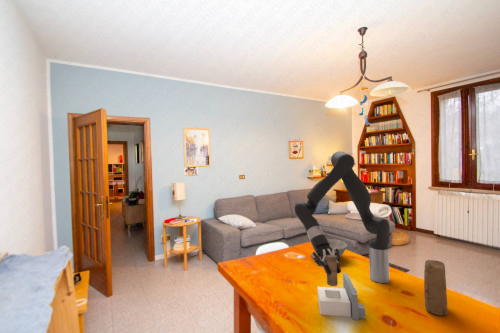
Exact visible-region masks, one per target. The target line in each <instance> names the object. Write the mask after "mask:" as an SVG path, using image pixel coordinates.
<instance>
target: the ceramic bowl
mask: <svg viewBox="0 0 500 333" xmlns="http://www.w3.org/2000/svg"><path fill="white" fill-rule="evenodd" d="M327 240H328V242H329V245H330V247H331V248H332V249H338V251H339V255H340V258H341V257H342V255H344V253H345V251H346V249H347V248H348V244H347V242H345V241H343V240H339V239H334V238H333V239H332V238H327ZM332 253H333V252H332ZM333 255H334V254H333Z"/></svg>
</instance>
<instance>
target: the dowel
mask: <svg viewBox="0 0 500 333" xmlns="http://www.w3.org/2000/svg"><path fill="white" fill-rule="evenodd" d="M326 261H327V265H328V266H329V268H330V271H331V273H332V274H331V275H328V274H326V285H328V286H329V287H337V286H338V273H337V256H335V255H326Z"/></svg>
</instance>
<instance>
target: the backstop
mask: <svg viewBox="0 0 500 333" xmlns="http://www.w3.org/2000/svg"><path fill="white" fill-rule="evenodd" d="M342 280H343V284H342V285H343V286H342V288H345V290H346V293H347V295H348V298H349V300H350V303H351V319H352V320H353V321H359V319H366V307H365V306H364V304H362V303H361V304H360V303H358V302H359V300H358V299H359V298H358V292H357V289H356V287H355V286H354V284H353V283H352V280H351V278H350V277H349V274H348V272H347V273H346V272H342Z"/></svg>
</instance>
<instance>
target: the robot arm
mask: <svg viewBox="0 0 500 333" xmlns="http://www.w3.org/2000/svg"><path fill="white" fill-rule="evenodd" d="M330 163H331V165H332V169H331V170H330V172H329V173H328V174H327V175H325V177H323V178H321V179H320V180H319V181H318V182H317V183H315V185H313V187H312V188H311V190H309V192H308V193H307V195H306V199H307V202H303V201H298V202H297V203H295V205H294V212H295V215H296V216H297V218H298V220H299V221H300V222H301V224H302V225H303V227H304V229H305V232H306V234H307V237H308V239H309V241H310V243H311V245H312V248H313V250H314V251H313V252H312V253H311V255H310V256H311V258H312V259H313V260H314V262H315V264H316V265H317V266H318V267H323V269H324V272H325V274H326V275H327V274H328V275H331V274H332V273H331V271H330V268H329V266H328V265H327V261H326V255H333V254H334V255H335V256H337V274H341V273H342V268H341V266H340V264H339V263H340V262H341V257H340V255H339V251H338V249H332V248H331V247H330V245H329V242H328V240H327V239H328V238H327V236H326V234H325V233H324V230H323V229H322V228H321V226H320V224H319V222H318V220H317V219H316V218H315V217H314V213H315V212H316V210H317V208H318V206H319V203H320V202H321V201H322V200H323V198H324V197H325V196H326V194H327V193H328V192H329V191H330V190H331V189H332V188H333V187H334V186H335V185H336V184H337V183H338V182H339V181H340V180H342V183H343V185H344V187H345V190H346V192H347V194H348V195H349V198H350V200H351V201H352V203H353V205H354V206H355V208H356V210H357V212H358V214H359V216H360V219H361V221H362V224H363V226H364V228H365V230H366V231H367V232H368V233H369V234H374V235H375V236H376V238H375V239H371V240H368V253H369V254H368V255H369V258H368V259H369V262H368V263H369V278H370V280H371V281H373V282H375V283H379V284H387V283H390V261H389V260H390V258H389V245H390V232H391V229H390V222H389V221H388V219H386V218H383V217H377V216H374V214H373V213H372V211H371V209H370V207H371V203H372V197H371V194H370V192H369V189H367V188H368V187H366V185H365V183H364V182H363V181H362V179H361V178H360V177H359V175H357V174H356V172H355V170H354V169H353V168H354V166H355V158H354V157H353V155H351V154H348V153H347V152H344V151H336V152H334V153H333V154H332V156H331V159H330ZM332 252H333V253H332Z"/></svg>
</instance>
